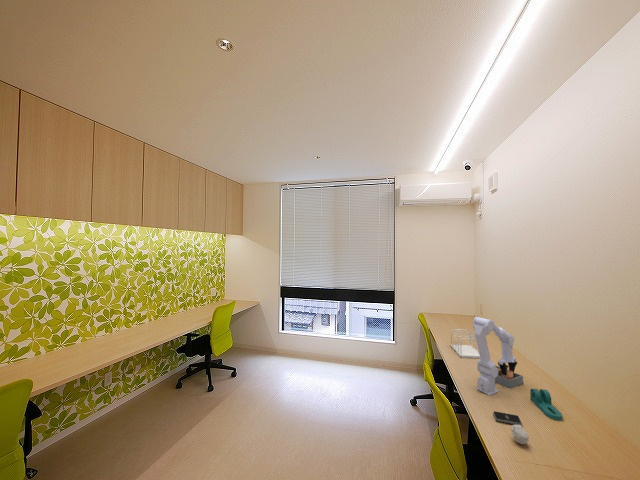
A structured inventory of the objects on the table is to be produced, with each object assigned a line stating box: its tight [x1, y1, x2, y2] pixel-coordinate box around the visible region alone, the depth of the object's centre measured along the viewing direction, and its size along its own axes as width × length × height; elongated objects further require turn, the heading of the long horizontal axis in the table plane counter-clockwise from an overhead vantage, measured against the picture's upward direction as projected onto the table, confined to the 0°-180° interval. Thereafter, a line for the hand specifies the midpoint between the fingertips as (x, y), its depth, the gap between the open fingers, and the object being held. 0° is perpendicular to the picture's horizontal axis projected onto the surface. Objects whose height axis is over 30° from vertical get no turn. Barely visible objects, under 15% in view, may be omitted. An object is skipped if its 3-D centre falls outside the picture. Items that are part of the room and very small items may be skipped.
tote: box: [495, 365, 524, 389], centre depth 173 cm, size 14×18×5 cm
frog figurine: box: [510, 425, 529, 445], centre depth 118 cm, size 6×7×7 cm
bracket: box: [529, 388, 563, 422], centre depth 141 cm, size 18×7×8 cm, turn 166°
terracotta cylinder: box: [504, 368, 513, 380], centre depth 170 cm, size 5×5×7 cm
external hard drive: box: [492, 410, 523, 427], centre depth 133 cm, size 7×11×2 cm, turn 67°
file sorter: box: [450, 328, 480, 359], centre depth 221 cm, size 25×17×16 cm
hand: (508, 373), depth 170 cm, fingers open, 7 cm apart
